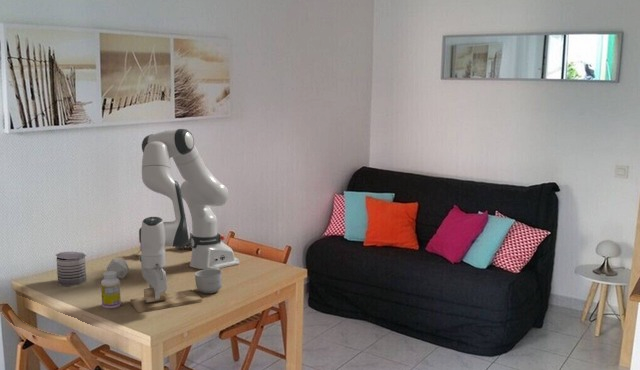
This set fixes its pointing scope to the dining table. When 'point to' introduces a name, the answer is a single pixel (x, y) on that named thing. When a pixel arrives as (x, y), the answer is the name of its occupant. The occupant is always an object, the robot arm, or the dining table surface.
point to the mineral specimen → (187, 243)
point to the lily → (140, 247)
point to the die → (118, 267)
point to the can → (71, 268)
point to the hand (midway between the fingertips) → (155, 296)
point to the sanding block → (150, 296)
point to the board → (167, 301)
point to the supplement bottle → (110, 290)
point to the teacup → (208, 280)
